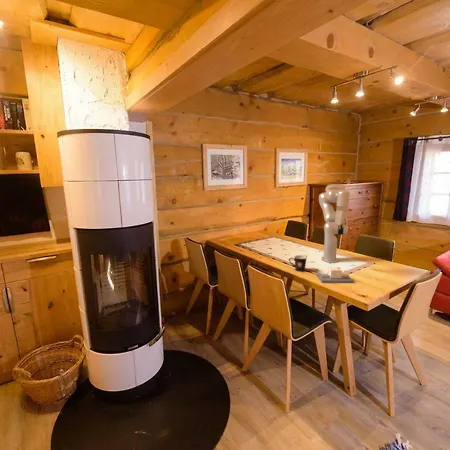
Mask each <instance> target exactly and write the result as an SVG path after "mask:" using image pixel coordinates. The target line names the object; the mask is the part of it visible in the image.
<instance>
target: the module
mask: <svg viewBox="0 0 450 450" xmlns="http://www.w3.org/2000/svg"><path fill="white" fill-rule="evenodd" d="M327 274H329V275H330V278H341V277H342V274H343V270H342V269H341V267H339V266H337V267H335V266H334V267H333V266H331V267H327Z"/></svg>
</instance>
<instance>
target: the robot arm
mask: <svg viewBox="0 0 450 450" xmlns="http://www.w3.org/2000/svg"><path fill="white" fill-rule="evenodd" d="M324 191H325V192H321V193H320V194H318V203H319V205H320V206H319V207H320V208H321V210H322V213H323V218H324V219H323V220H324V222H325V223H324V225H323V231H324V242H323V243H324V246H323V256H322V257H321V261H322V262H325V263H330V264H331V263H338V262H339V259H338V258H337V250H338V248H337V247H338V238H337V236H336V235H338V236H340V235H341V236H342V235H343V236H344V235H346V234H347V233H348V231H349V226H348V212H349V204H350V191H349V190H347V189H346V187H345V185H344V184H342V183H341V184H340V183H339V184H338V183H337V184H335V183H332V184H328V185H326V187H325V190H324ZM330 203H336V208H335V209H336V211H335V210H334V207H333V205H332V204H330Z"/></svg>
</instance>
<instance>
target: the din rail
mask: <svg viewBox="0 0 450 450" xmlns="http://www.w3.org/2000/svg"><path fill="white" fill-rule="evenodd" d="M319 274H320V277H321V278H330V275H329V274H328V273H319ZM349 277H350V275H349V273H342V277H341V278H349Z"/></svg>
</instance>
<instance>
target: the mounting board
mask: <svg viewBox="0 0 450 450" xmlns="http://www.w3.org/2000/svg"><path fill="white" fill-rule="evenodd" d="M320 274H321V273H316V277H317V278H318V280H319V281H320V282H321V283H322V284H324V283H325V284H326V283H327V284H328V283H329V284H332V283H333V284H337V283H338V284H341V283H342V284H351V283H352V284H353V283H354V280H353V279H352V278H351V276H349V278H321V277H320Z"/></svg>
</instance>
